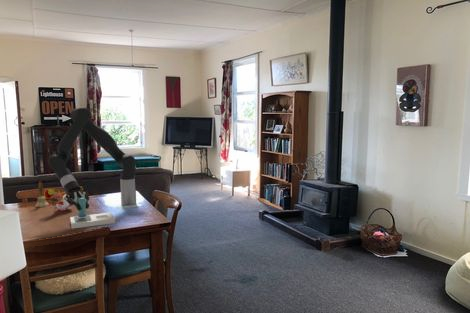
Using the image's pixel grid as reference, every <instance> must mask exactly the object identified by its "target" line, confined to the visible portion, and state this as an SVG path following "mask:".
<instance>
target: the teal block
mask: <svg viewBox="0 0 470 313" xmlns="http://www.w3.org/2000/svg"><path fill="white" fill-rule="evenodd" d="M78 203H79V204H80V206H81V208H82V209H81V210H80V211H79V210H77V212H78V214H77V216H78V217H86V215H87V209H86V198H78Z"/></svg>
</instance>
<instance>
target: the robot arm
mask: <svg viewBox="0 0 470 313" xmlns="http://www.w3.org/2000/svg"><path fill="white" fill-rule="evenodd" d="M91 116H92V112H91V111H90V109H89V108H87V107H77V108H74V109H72V110H71V111H70V119H71V120H72V121H73V122H72V124H71V126H70V128H69V129H68V130H67V131H66V132H65V134H64V135H63V137H62V138H61V139H60V141H59V143H58V145H57V148H56V151H57V153H58V154H52V155H50V156H49V157H48V159H47V162H48V165H49V168H50V169H51V170H52V171H53V173H55V175H56V177H57V178H58V181H60V184H61V186H62V188H63V190H64V192H65V194H68V195H66V196H65V198H64V199H65V200H66V201H67V202H68V203H69V204H70V205H72V206H74V207H75V208H76V209H77V211H78V210H79V211H80V210H81V209H82V208H81V206H80V204H79V203H78V198H86V210H88V209H89V208H90V204H89V203H88V201H89V200H90V196H89V195H90V194H89V192H88V190H86V191H83V190H81V187H80V184H79V183H78V181H77V180H76V178H75V177H74V176H73V174H72V172H71V171H70V169H69V168H68V167H67V164H68V160H69V156H70V152H71V151H72V149H73V146H74V145H75V143H76V140H77V139H78V137H79V136H80V134H81V133H82V131H85V132H86V133H87V135H89V136H90V137H91V139H93V140H94V141H95V143H97V144H98V146H99V147H100V148H102V149H103V151H105V152H106V153H107V154H108V155H110V156H111V157H112V159H113V160H114V161H115V162H116V163H117V165H118V166H119V167H120V168H122V173H121V174H120V178H119V179H120V203H121V205H122V206H132V205H136V204H137V190H136V182H135V181H136V179H135V178H136V173H137V163H136V162H137V161H136V159H135V157H134V156H133V155H130V154H126V153H125V152H123V150H122V149H120V148H119V146H118V144H117V142H116V141H115V139H114V138H113V137H112V135H111V134H110V133H109V132H108V131H107V130H105V129H103V128H102V127H100V126H99V125H97V124H95V122H93V121H92V120H91ZM71 198H72V199H71ZM70 201H71V202H70Z"/></svg>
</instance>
